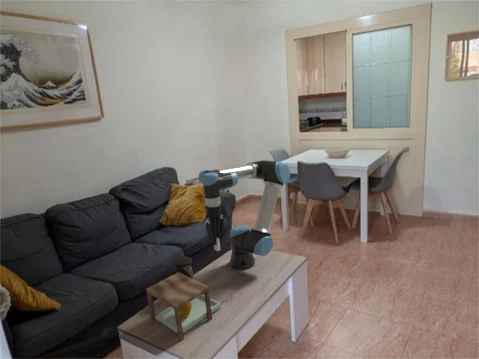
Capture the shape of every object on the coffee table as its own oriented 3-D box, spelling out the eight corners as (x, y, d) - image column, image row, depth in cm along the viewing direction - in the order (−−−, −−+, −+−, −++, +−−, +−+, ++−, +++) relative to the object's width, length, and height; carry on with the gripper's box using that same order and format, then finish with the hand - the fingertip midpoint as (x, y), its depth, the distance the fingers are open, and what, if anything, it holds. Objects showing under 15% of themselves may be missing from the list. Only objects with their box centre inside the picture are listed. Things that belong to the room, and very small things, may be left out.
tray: (197, 295, 171) (196, 291, 170) (220, 307, 159) (219, 303, 159) (157, 320, 154) (156, 315, 153) (180, 335, 142) (179, 330, 142)
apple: (170, 315, 155) (168, 299, 153) (186, 307, 160) (184, 291, 158) (180, 324, 148) (178, 306, 146) (196, 315, 154) (194, 298, 152)
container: (195, 297, 169) (191, 262, 165) (177, 299, 169) (172, 263, 164) (196, 288, 178) (192, 254, 173) (179, 290, 177) (174, 255, 173)
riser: (182, 301, 167) (178, 272, 163) (212, 319, 152) (208, 286, 148) (151, 320, 154) (146, 288, 150) (180, 341, 139) (176, 306, 136)
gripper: (217, 200, 167) (221, 243, 173) (197, 207, 158) (202, 253, 164) (228, 202, 162) (231, 247, 168) (208, 210, 153) (213, 257, 159)
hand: (217, 249), depth 166 cm, fingers closed
